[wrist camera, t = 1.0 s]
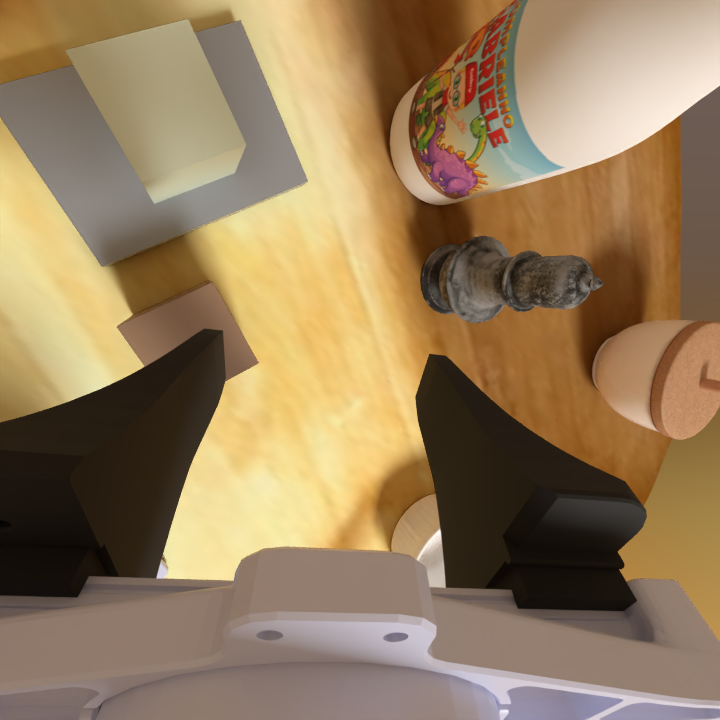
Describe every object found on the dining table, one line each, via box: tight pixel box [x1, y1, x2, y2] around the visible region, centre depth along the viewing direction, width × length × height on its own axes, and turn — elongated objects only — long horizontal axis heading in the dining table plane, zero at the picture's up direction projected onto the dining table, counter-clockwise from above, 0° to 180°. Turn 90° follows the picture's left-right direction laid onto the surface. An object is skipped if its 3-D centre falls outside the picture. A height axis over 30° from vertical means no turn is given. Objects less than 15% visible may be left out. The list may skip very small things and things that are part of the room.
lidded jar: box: [592, 320, 720, 440], centre depth 35 cm, size 11×11×9 cm
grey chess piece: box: [421, 236, 604, 323], centre depth 23 cm, size 6×6×12 cm
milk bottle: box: [390, 0, 720, 205], centre depth 17 cm, size 8×8×20 cm
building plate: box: [0, 20, 308, 267], centre depth 19 cm, size 12×8×1 cm, turn 114°
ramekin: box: [391, 494, 446, 588], centre depth 32 cm, size 9×9×4 cm
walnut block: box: [117, 281, 259, 381], centre depth 20 cm, size 4×4×5 cm
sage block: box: [65, 19, 246, 204], centre depth 16 cm, size 4×4×5 cm
